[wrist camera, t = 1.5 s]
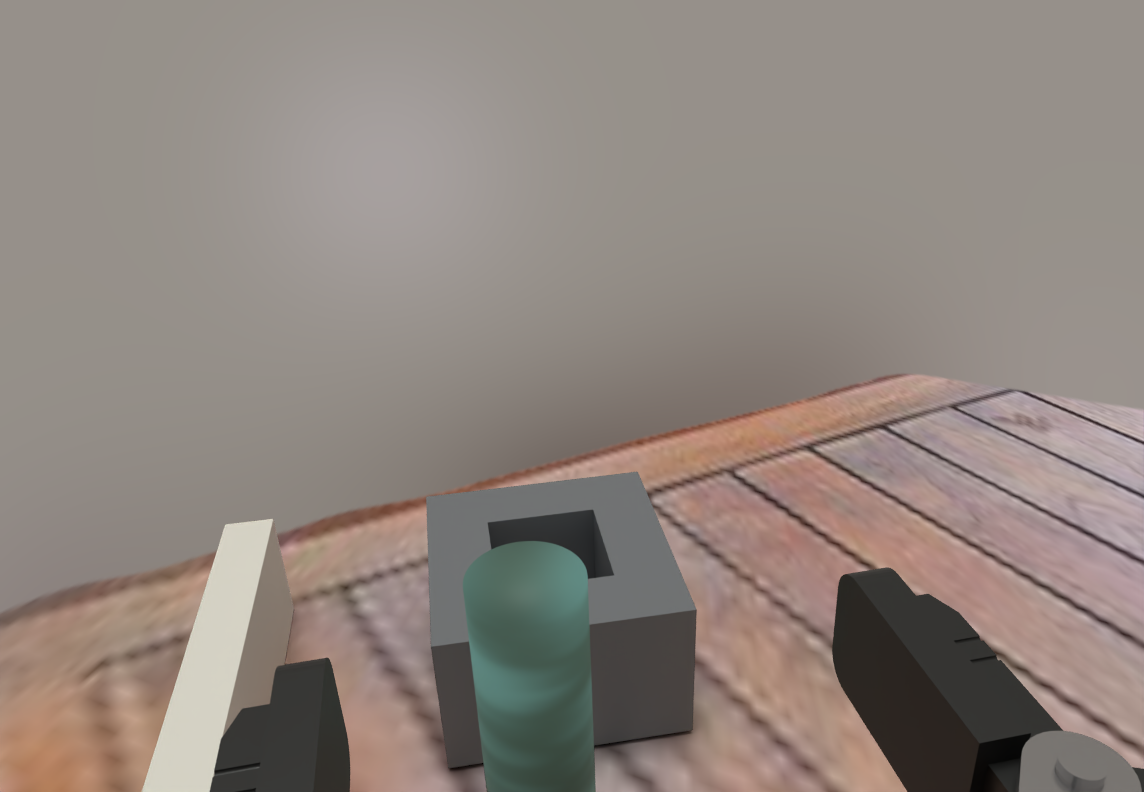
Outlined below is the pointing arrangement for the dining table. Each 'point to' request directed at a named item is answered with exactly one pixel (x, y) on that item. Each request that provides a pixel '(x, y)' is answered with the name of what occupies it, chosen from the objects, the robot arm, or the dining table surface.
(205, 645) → the wall
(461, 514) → the socket block
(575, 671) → the dowel
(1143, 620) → the dining table surface
